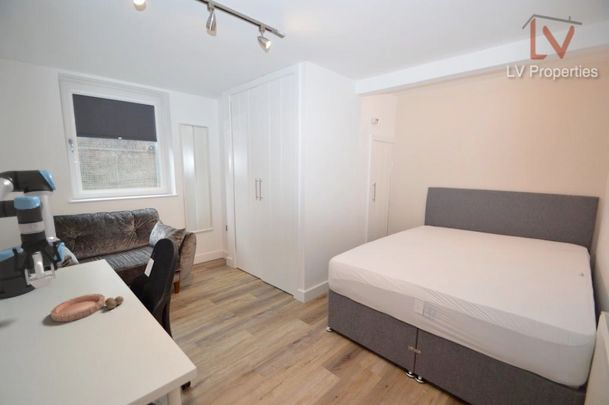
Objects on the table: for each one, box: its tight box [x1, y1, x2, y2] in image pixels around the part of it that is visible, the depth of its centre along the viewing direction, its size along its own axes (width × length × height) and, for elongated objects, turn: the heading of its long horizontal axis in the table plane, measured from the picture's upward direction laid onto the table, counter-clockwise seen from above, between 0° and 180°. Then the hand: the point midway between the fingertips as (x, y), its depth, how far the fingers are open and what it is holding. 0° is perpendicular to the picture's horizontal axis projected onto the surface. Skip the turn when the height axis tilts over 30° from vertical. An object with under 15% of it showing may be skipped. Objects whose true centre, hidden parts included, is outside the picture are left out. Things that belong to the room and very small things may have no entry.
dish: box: [50, 293, 106, 323], centre depth 116 cm, size 19×18×3 cm
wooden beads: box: [104, 296, 124, 310], centre depth 119 cm, size 7×7×4 cm
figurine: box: [29, 252, 53, 289], centre depth 114 cm, size 7×9×15 cm
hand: (41, 280), depth 115 cm, fingers closed on figurine, 7 cm apart
